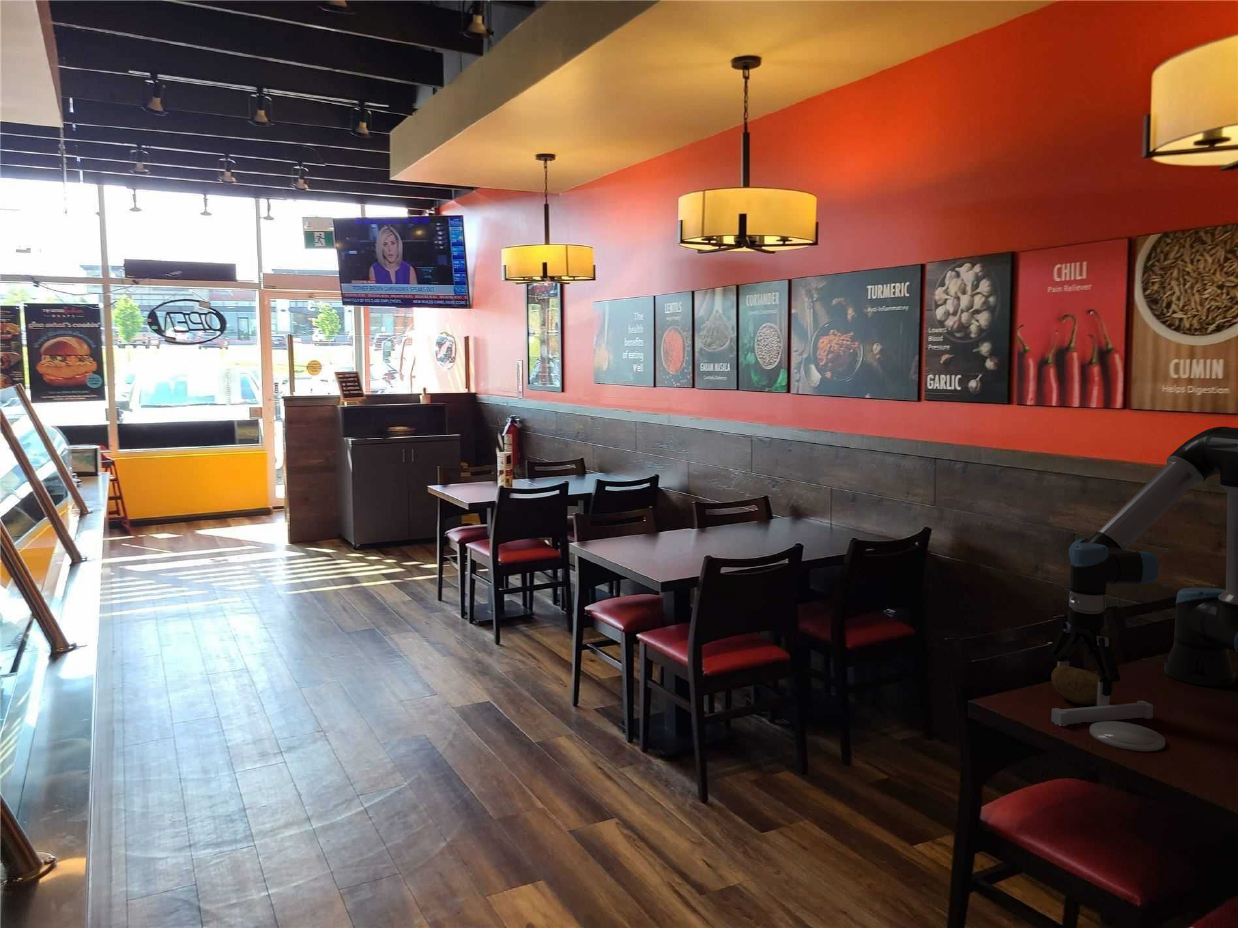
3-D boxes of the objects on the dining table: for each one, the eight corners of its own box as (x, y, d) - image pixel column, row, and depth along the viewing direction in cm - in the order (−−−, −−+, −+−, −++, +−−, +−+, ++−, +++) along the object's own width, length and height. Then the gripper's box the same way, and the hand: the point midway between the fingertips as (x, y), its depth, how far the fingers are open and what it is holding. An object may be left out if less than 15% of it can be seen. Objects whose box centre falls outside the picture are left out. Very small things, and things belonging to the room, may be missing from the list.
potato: (1107, 716, 198) (1108, 682, 197) (1043, 699, 209) (1044, 667, 208) (1122, 705, 205) (1124, 672, 204) (1059, 690, 215) (1061, 658, 214)
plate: (1129, 722, 195) (1130, 717, 195) (1181, 748, 181) (1181, 743, 181) (1074, 727, 192) (1075, 722, 192) (1123, 754, 178) (1123, 749, 178)
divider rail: (1142, 713, 200) (1142, 700, 200) (1152, 718, 197) (1153, 705, 197) (1051, 721, 195) (1051, 708, 195) (1060, 726, 193) (1061, 713, 192)
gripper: (1037, 597, 216) (1033, 680, 218) (1112, 625, 192) (1107, 718, 194) (1063, 595, 217) (1059, 678, 219) (1141, 623, 193) (1136, 715, 195)
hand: (1081, 697), depth 207 cm, fingers closed on potato, 13 cm apart
